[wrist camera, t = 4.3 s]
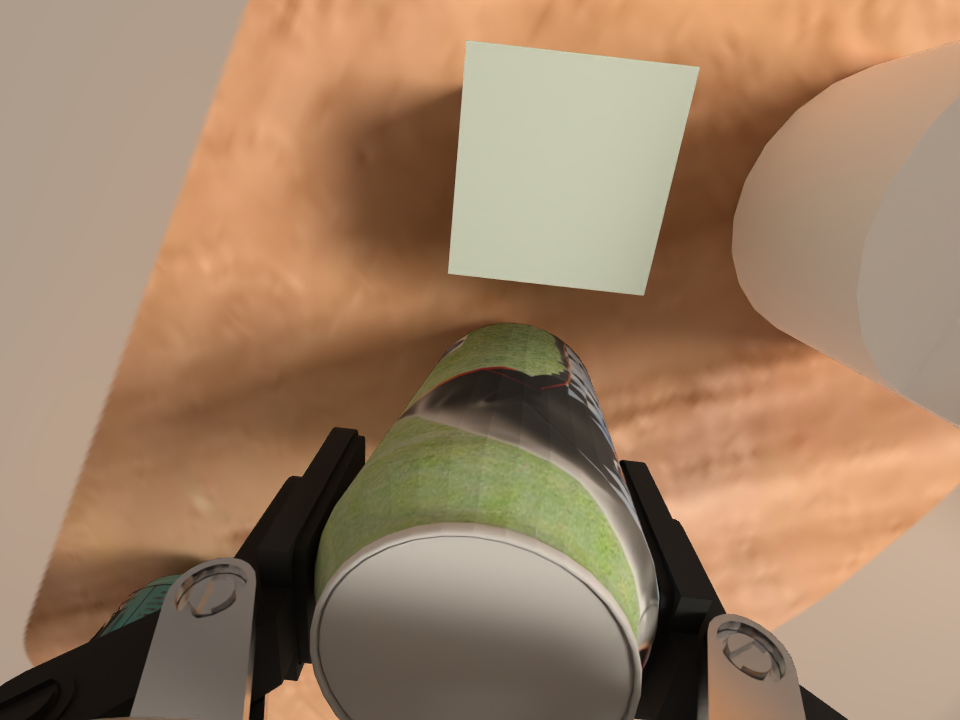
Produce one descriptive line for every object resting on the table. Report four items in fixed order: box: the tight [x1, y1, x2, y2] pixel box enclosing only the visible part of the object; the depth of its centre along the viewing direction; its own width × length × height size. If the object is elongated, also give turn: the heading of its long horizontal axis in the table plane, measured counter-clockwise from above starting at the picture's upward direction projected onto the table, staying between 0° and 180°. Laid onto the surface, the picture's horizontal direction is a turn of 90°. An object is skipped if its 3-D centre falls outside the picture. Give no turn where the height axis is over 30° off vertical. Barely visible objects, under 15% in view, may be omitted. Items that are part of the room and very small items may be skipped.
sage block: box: [448, 40, 700, 296], centre depth 13 cm, size 5×5×5 cm
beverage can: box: [310, 323, 659, 720], centre depth 12 cm, size 6×7×12 cm
